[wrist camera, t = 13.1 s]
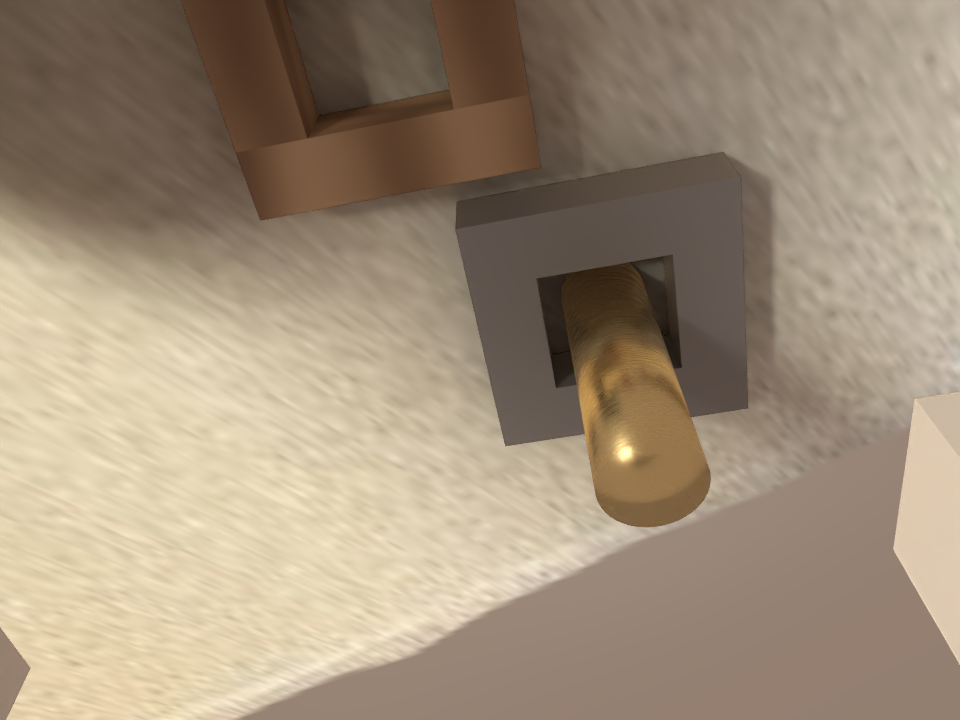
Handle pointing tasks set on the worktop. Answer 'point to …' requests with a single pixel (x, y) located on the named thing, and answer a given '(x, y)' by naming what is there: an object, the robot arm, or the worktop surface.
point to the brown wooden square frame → (365, 109)
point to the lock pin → (631, 401)
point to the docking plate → (598, 243)
